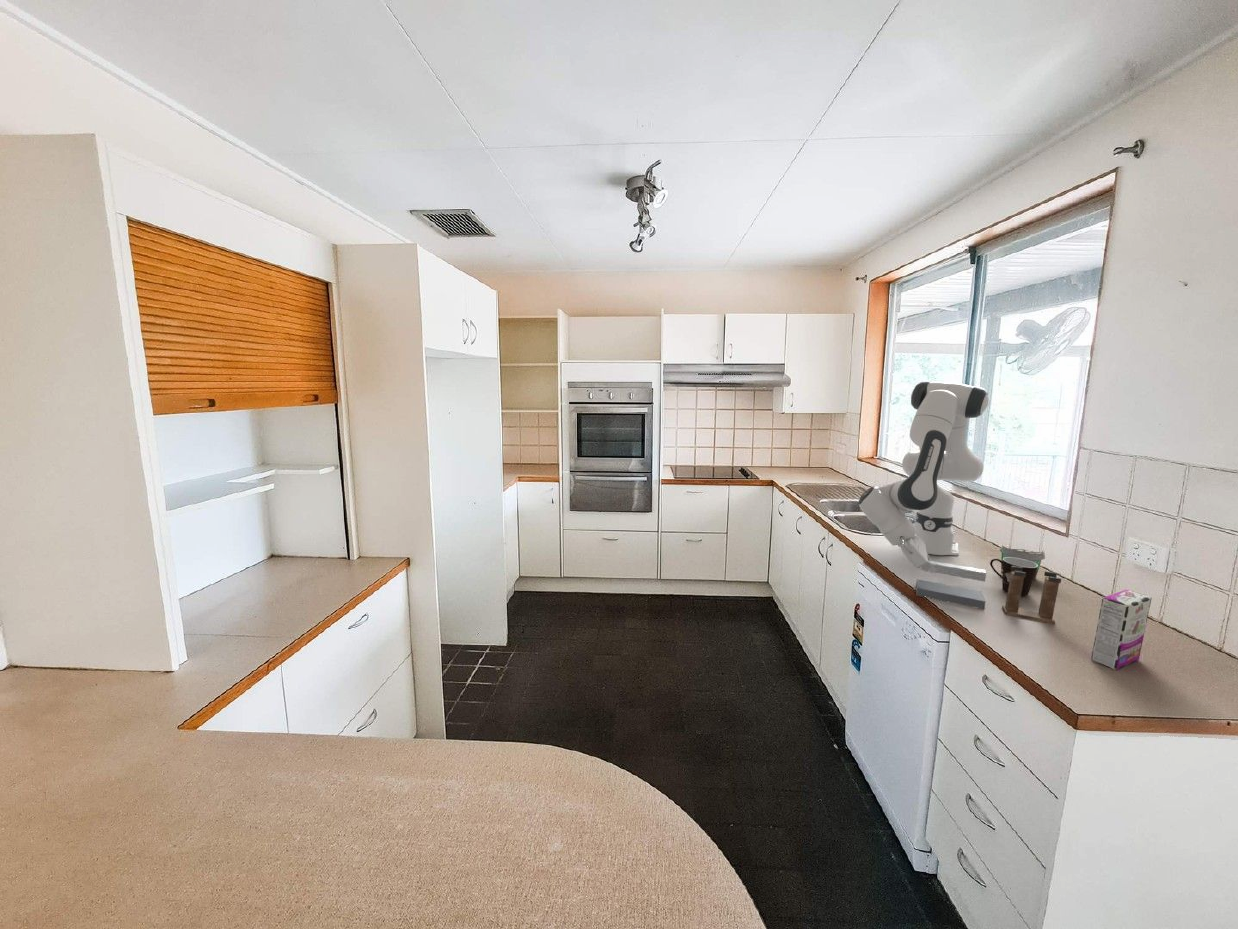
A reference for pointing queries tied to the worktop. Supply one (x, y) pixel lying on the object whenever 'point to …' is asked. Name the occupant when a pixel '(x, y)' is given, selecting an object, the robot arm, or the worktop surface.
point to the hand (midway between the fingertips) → (933, 568)
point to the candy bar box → (1120, 629)
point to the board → (950, 593)
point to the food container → (1022, 556)
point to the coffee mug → (1007, 562)
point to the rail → (958, 571)
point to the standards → (1046, 599)
